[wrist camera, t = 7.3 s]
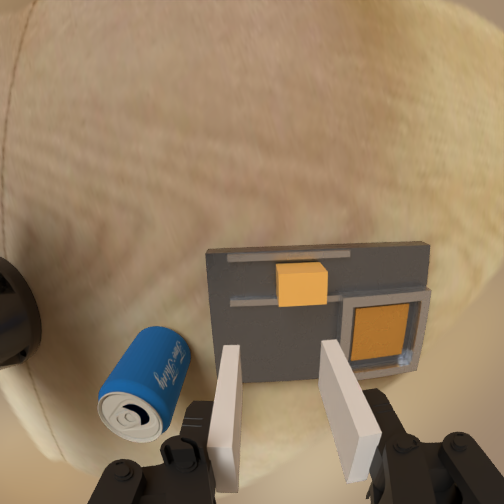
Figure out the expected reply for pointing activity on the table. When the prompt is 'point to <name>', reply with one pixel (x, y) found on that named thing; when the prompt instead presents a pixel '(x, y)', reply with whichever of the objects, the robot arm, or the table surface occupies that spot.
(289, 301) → the block
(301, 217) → the table surface
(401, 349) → the panel
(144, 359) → the beverage can
